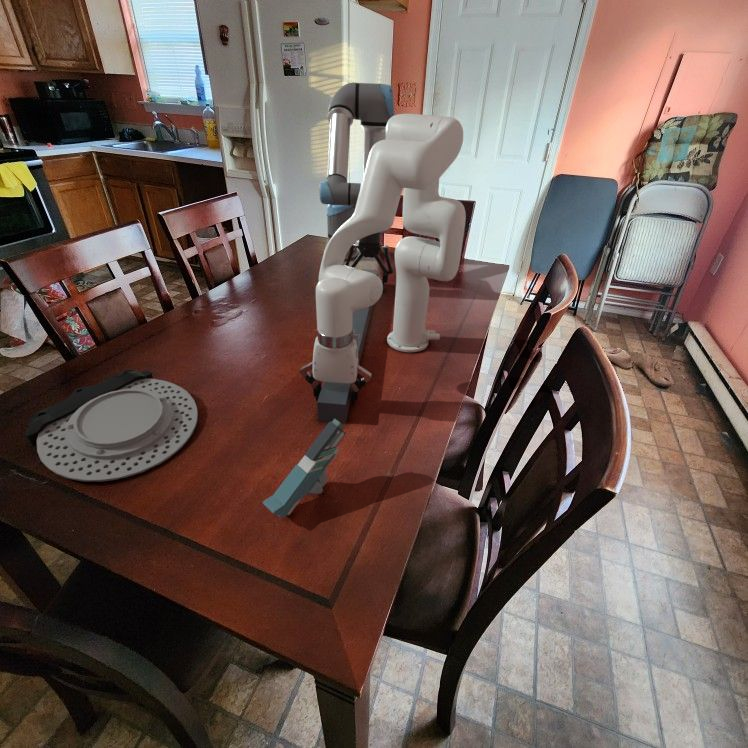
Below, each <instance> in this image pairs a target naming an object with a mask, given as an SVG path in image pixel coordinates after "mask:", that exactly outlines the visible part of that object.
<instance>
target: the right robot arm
mask: <svg viewBox="0 0 748 748" xmlns="http://www.w3.org/2000/svg"><path fill="white" fill-rule="evenodd" d="M463 143H464V128H463V126H462V123H461V122H460V121H459V120H458V119H457V118H454V117H452V116H445V115H444V116H441V115H431V114H430V115H429V114H420V113H398V114H394V116H392V117H391V118H390V119H389V120H388V122H387V125H386V140H381V141H378V142H377V143H375V144H374V145H373V147H372V148H371V151H370V154H369V157H368V161H367V165H366V169H365V173H364V176H363V177H362V181H361V183H362V184H361V188H360V192H359V196H358V200H357V204H356V208H355V211H354V214H353V215H352V217H351V218H350V219H349V220H347V221H346V222H345V223H344V224H343V225H342V226H341V227H340V228H339V229H338V230H337V231H336V232H335V234H334V235H333V236H332V238H331V239H330V240H329V242H328V244H327V246H326V245H325V246H326V248H325V247H324V249H325V251H324V250H323V254H322V258H321V263H320V267H319V272H318V282H317V284H316V286H315V311H316V329H317V330H316V337H315V339H314V340H315V341H314V343H313V351H312V352H313V353H312V361H310V362H308V363H307V364H304V365H303V366H301V367H300V369H299V373H300V375H302V376H303V378H304V379H305V381H306V382H307V383H308V384H309V385H310V387H311V388H312V389H313V390H312V391H313V397H315V402H316V403H317V401H318V398H319V395H320V392H321V389H322V382H324V381H326V382H336V383H349V385H350V386H351V388H352V391H351V402H350V405H351V406H354V405H355V402H356V401H358V399H359V390H361V389H362V388H363V387H365V386H366V384H367V383H368V382H369V381H370V380H372V375H373V374H372V373H371V372H370V371H368V370H367V369H366V368H364V367H362V366H361V365H360V363H359V364H358V349H357V343H356V340H355V339H359V333H356V332H354V331H353V328H352V319H353V312H354V311H357V310H360V309H364V308H367V307H370V306H372V305H373V306H374V305H375V304H376V303H378V302H379V300H380V298H381V297H382V295H383V292H382V291H383V284H382V280H381V278H380V277H379V275H378V276H377V275H375V274H373V273H370V272H367V271H363V270H362V269H359V268H356V267H355V268H353V267H351V266H350V265H349V266H345V264H344V262H345V260H344V259H345V256H346V254H347V252H348V250H349V249H350V247H351V246H352V245H353V244H354V243H355V244H356V243H357V242H359V240H360V239H362V238H364V237H366V236H369V235H371V234H375V233H378V232H382V231H385V232H386V231H388V230H390V229H392V227H393V225H394V222H395V218H396V215H397V211H398V207H399V203H400V200H401V197H403V198H402V225H403V228H404V229H405V230H406V231H408V232H410V233H412V234H416V235H420V236H425V237H420V236H411V235H410V236H405V237H403V238H401V239H400V240H399V241H398V242H397V244H396V246H395V249H394V264H395V265H394V267H395V277H396V279H395V297H394V309H393V325H392V331H391V332H389V333H388V334H387V336H386V342H387V344H388V346H389V347H390V348H391V349H394V350H395V351H398V352H402V353H417V352H421V351H424V350H425V349H427V347H428V346H429V341H430V340H432V341H440V339H441V334H440V333H436V331H435V330H434V329H432V330H428V329H426V324H427V323H426V322H427V315H428V308H429V298H430V284H429V281H428V279H432V280H436V281H440V282H449V281H452V280H453V279H454V278H455V277H456V275H457V273H458V271H459V267H460V263H461V258H462V257H461V256H462V249H463V242H464V236H465V229H466V228H465V227H466V218H467V216H466V215H467V214H466V209H465V206H464V204H463V203H462V202H461V201H459V200H457V199H456V198H455V199H454V198H451V197H444V196H440V193H439V189H440V188H439V187H440V178H441V177H442V176H443V175H444V174H445V172H446V171H447V170H448V169H449V168H450V167H451V165H452V164H453V163H454V162H455V161H456V159H457V157H458V156H459V154H460V152H461V149H462V147H463ZM402 193H403V194H402ZM426 237H429V238H430V239H429V238H426ZM431 238H433V239H438V240H433V239H431ZM373 306H372V307H373ZM310 371H312V373H311V372H310ZM358 375H360V376H361V377H360V379H358Z"/></svg>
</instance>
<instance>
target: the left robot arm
mask: <svg viewBox="0 0 748 748" xmlns="http://www.w3.org/2000/svg"><path fill="white" fill-rule="evenodd" d="M394 98H395V97H394V89H393V86H391V85H390V84H387V83H386V84H385V83H382V82H381V83H374V82H373V83H370V82H353V81H352V82H348V83H346V84H344V85H343V86H341V87H340V88H339V89H338V90H337V91H336V92H335V93H334V95H333V97H331V100H330V102H329V105H328V108H327V121H328V123H329V134H328V145H327V146H328V147H327V149H328V151H327V164H326V176H325V177H326V179H325V180H324V181H320V183H319V192H318V193H319V201H320V203H321V204H323V205H327V206H326V207H327V208H326V219H327V220H326V222H327V240H326V242H325V246H324V250H323V252H324V251H325V248H326V246H327V244H328V242H329V240H330V239H331V238H332V236H333V235H334V234H335V232H336V231H337V230H338V229H339V228H340V227H341V226H342V225H343V224H344V223H345V222H346V221H347V220H349V219H350V218H351V217H352V215H353V214H354V211H355V208H356V204H357V200H358V196H359V192H360V188H361V184H362V182H348V175H349V174H348V172H349V159H350V158H349V156H350V139H351V137H350V136H351V135H350V134H351V127H352V125H353V123H354V120H356V121H360V127H361V128H362V130H363V135H364V137H363V176H364V173H365V169H366V165H367V161H368V157H369V154H370V151H371V148H372V147H373V145H374V144H375V143H377V142H378V141H381V140H386V125H387V122H388V120H389V119H390V118H391V117H392V116H394V115H395V99H394ZM385 232H386V231H382V232H378V233H375V234H371V235H369V236H366V237H364V238H362V239H360V240H358V244H356V242H355V243H354V244H353V245H352V246H351V247H350V249H349V250H348V252H347V254H346V256H345V259H344V261H345V264H344V265H345V266H349V267H353V268H356V267H357V265H358V264H359V262H360V261H361V260H362V258H363V257H364V258H371V259H373V258H374V259H375V260H376V262H377V264H378V265H379V267H380V269H381V270H382V280H381V281H382V284H383V291H382V293H384V292H385V284H387V283H388V282H389V281H388V280H389V275H392V274H394V268H393V264H392V261H391V260H392V259H391V257H390V253H389V245H385V246H384V245H381V234H385ZM358 251H359V252H358ZM380 251H381V252H382V253H383V254H384V258H385V261H386V264H385V263H384V261H383V259H382V258H381V255H380V254H379V253H380ZM354 259H355V260H354ZM351 260H354V261H353V263H352V264H351ZM350 264H351V265H350ZM386 265H387V266H386Z"/></svg>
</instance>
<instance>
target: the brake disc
mask: <svg viewBox="0 0 748 748" xmlns="http://www.w3.org/2000/svg"><path fill="white" fill-rule="evenodd" d="M198 418H199V413H198V407H197V404H196V402H195V399H194V398H193V396H192V395H191V394H190V393H189V392H188V391H187V390H186V389H184V388H183V387H181V386H179V385H177V384H176V383H172V382H170V381H167V380H162V379H157V378H154V377H153V372H152V371H151V370H143V371H139V370H135V369H126V370H124V371H121V372H119V373H117V374H113V375H111V376H109V377H108V378H106V379H104V380H103V381H100V382H97V383H95V384H92V385H90V386H82V387H77V388H75V389H74V390H73V391H72V392H71V394H70V395H69V396H68V397H67V398H65V399H63V400H61V401H59V402H57V403H54V404H51V405H49V406H47V407H45V408H43V409H41V410H39V411H38V412H36V413H34V414H33V415H32V416H31V417H30V418H29V420H28V421H27V425H28V427H29V428H27V429H26V430H25V431H24V432H23V434H24V436H25V438H26V440H27V441H28V443H29V445H30V446H31V447H36V452H37V454H38V457H39V459H40V462H42V464H43V465H44V466H45V467H46V468H47V469H48V470H50V471H51V472H53V473H54V474H55V475H58V476H60V477H63V478H65V479H68V480H72V481H78V482H91V483H93V482H94V483H96V482H99V483H101V482H108V481H109V482H110V481H117V480H121V479H125V478H129V477H132V476H135V475H139V474H142V473H144V472H146V471H148V470H150V469H152V468H155V467H157V466H159V465H161V464H163V463H164V462H166V461H167V460H168V459H170V458H171V457H172V456H174V455H175V454H176V453H178V452H179V451H180V450H181V449H182V448H183V447H184V446H185V445H186V444H187V442H188V441H189V440H190V439H191V437H192V435H193V434H194V431H195V430H196V427H197V424H198V421H199V420H198Z"/></svg>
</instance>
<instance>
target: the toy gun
mask: <svg viewBox="0 0 748 748" xmlns="http://www.w3.org/2000/svg"><path fill="white" fill-rule="evenodd" d="M344 429H345V427H344V423H340V422H339V421H337V420H336V419H334V420H333V421H332V422H331V421H330V422H328V423H327V424H326V425H325V427H324V428H323V430H322V431H321V432H320V434H319V435H318V436H317V437H316V438H315V440H314V442H313V443H312V444H311V445H310V447H309V448H308V449H307V451H306V452H305V453H304V455H303V457H302V458H301V459H300V460H299V462H298V463H297V464H295V465H294V467H293V468H292V469H291V470H290V472H289V473H288V475H287V476H286V477H285V479H284V480H283V481H282V483H281V484H280V485H279V487H278V488H277V490H275V492H274V493H273V495H271V496H269V497H267V498H265V499H264V500H263V501H262V504H263V505H264V506H265V507H266V508H267V509H268V511H270V513H272V514H274V515H277V516H278V518H280V519H283V520H284V519H285V518H286V517H287V516H290V515H291V513H292V512H293V511H294V510H295V508H296V507H297V505H298V504H299V503H300V501H301V500H302V498H304V497H305V496H307V495H308V494H309V495H311V496H316V495H321V494H323V492H324V489H323V488H324V486H325V485H326V483H328V480H329V479H328V475H327V468H328V466H329V465H330V464H331V463H332V462H333V460H334V459H335V458H336V457H337V455H338V453H339V448H338V446H339V444H340V443H341V442H342V440H343V439H344V437H345V436H346V432H345V431H344Z"/></svg>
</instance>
